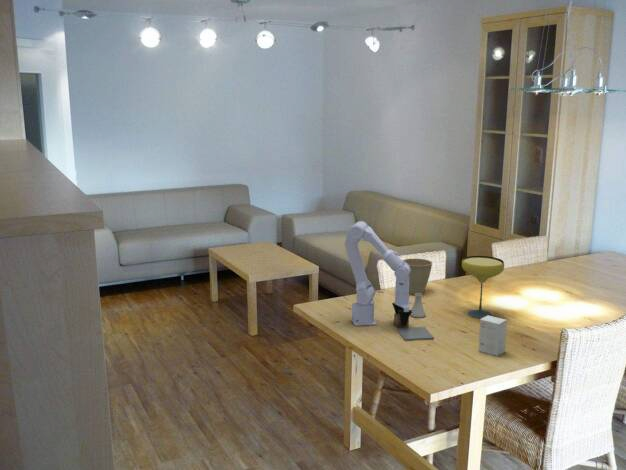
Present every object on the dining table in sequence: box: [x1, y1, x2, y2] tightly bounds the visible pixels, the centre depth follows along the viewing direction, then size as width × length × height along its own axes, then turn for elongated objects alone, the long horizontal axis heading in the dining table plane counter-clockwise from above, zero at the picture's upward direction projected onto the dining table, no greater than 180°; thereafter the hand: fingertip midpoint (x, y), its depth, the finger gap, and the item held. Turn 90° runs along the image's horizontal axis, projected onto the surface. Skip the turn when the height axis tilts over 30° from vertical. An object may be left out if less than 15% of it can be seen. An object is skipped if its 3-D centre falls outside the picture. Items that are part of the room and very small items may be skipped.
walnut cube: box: [393, 313, 410, 329], centre depth 265 cm, size 5×5×5 cm
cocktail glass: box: [461, 255, 505, 320], centre depth 277 cm, size 18×18×25 cm
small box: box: [478, 315, 507, 357], centre depth 238 cm, size 8×6×13 cm
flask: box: [409, 293, 427, 319], centre depth 278 cm, size 7×7×10 cm
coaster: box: [396, 326, 435, 342], centre depth 256 cm, size 12×12×1 cm
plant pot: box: [401, 258, 433, 296], centre depth 309 cm, size 15×15×16 cm
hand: (401, 322), depth 265 cm, fingers open, 7 cm apart
